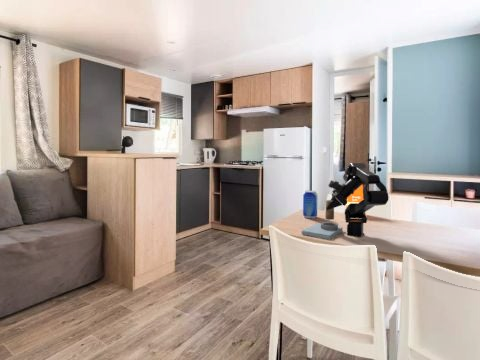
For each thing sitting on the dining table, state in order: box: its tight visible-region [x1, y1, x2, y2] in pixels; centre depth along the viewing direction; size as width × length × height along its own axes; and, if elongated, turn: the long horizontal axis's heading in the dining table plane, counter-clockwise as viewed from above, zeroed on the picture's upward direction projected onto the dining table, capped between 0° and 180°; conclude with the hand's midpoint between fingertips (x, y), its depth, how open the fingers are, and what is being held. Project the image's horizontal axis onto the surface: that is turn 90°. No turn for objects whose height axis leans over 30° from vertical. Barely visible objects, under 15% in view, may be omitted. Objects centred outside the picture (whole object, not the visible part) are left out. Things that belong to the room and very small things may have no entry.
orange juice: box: [345, 184, 364, 209], centre depth 190 cm, size 8×9×20 cm
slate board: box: [301, 221, 344, 240], centre depth 149 cm, size 14×17×4 cm
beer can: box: [302, 190, 318, 219], centre depth 183 cm, size 8×8×16 cm
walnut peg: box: [325, 199, 335, 221], centre depth 150 cm, size 4×4×9 cm
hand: (326, 208), depth 150 cm, fingers closed on walnut peg, 4 cm apart
